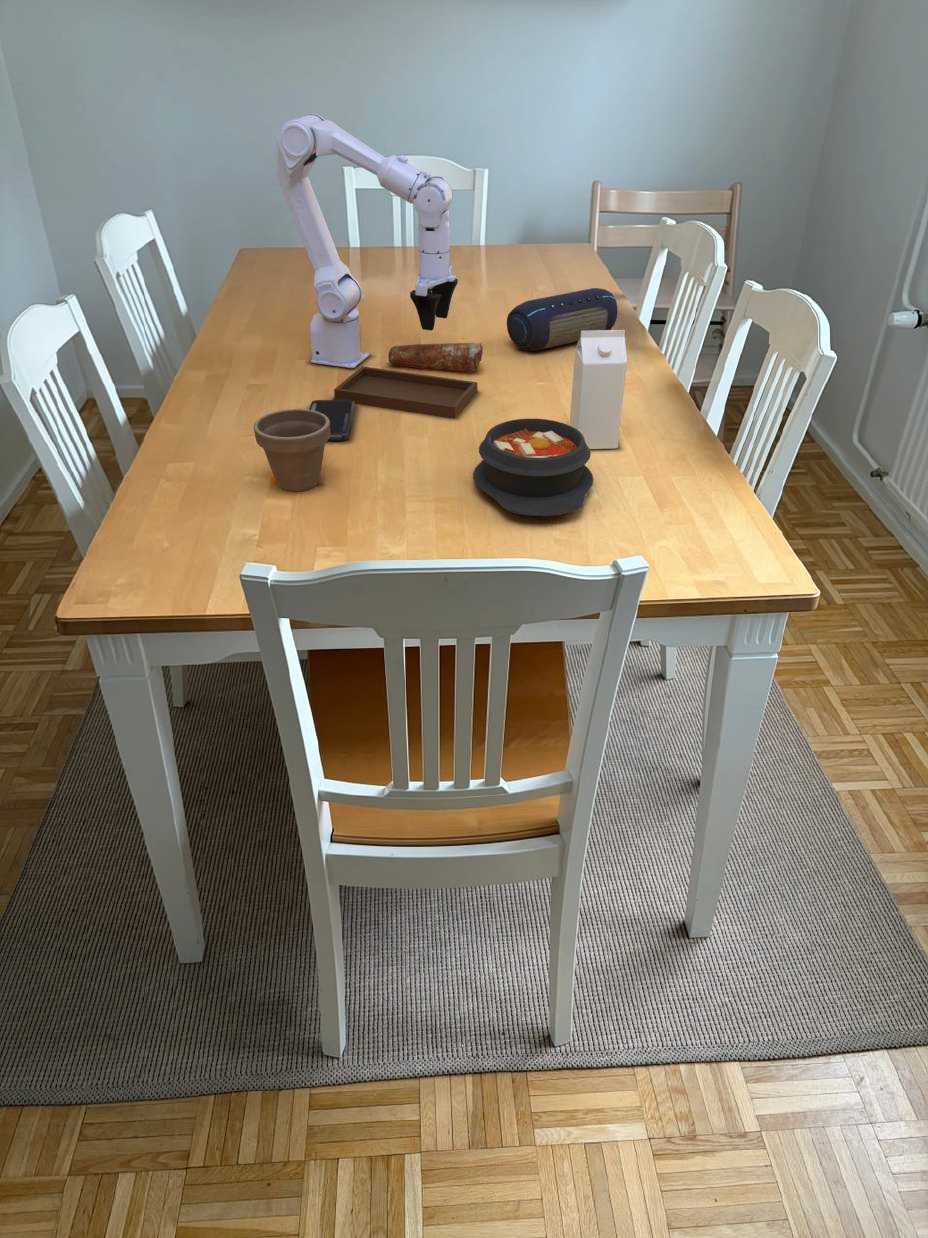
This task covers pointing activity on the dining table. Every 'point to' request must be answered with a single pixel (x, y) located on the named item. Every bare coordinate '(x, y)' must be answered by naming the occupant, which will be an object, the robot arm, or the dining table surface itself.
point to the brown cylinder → (438, 356)
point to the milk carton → (599, 387)
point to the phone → (336, 416)
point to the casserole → (535, 467)
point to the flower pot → (294, 446)
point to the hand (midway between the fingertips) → (434, 323)
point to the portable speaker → (561, 318)
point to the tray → (407, 391)
